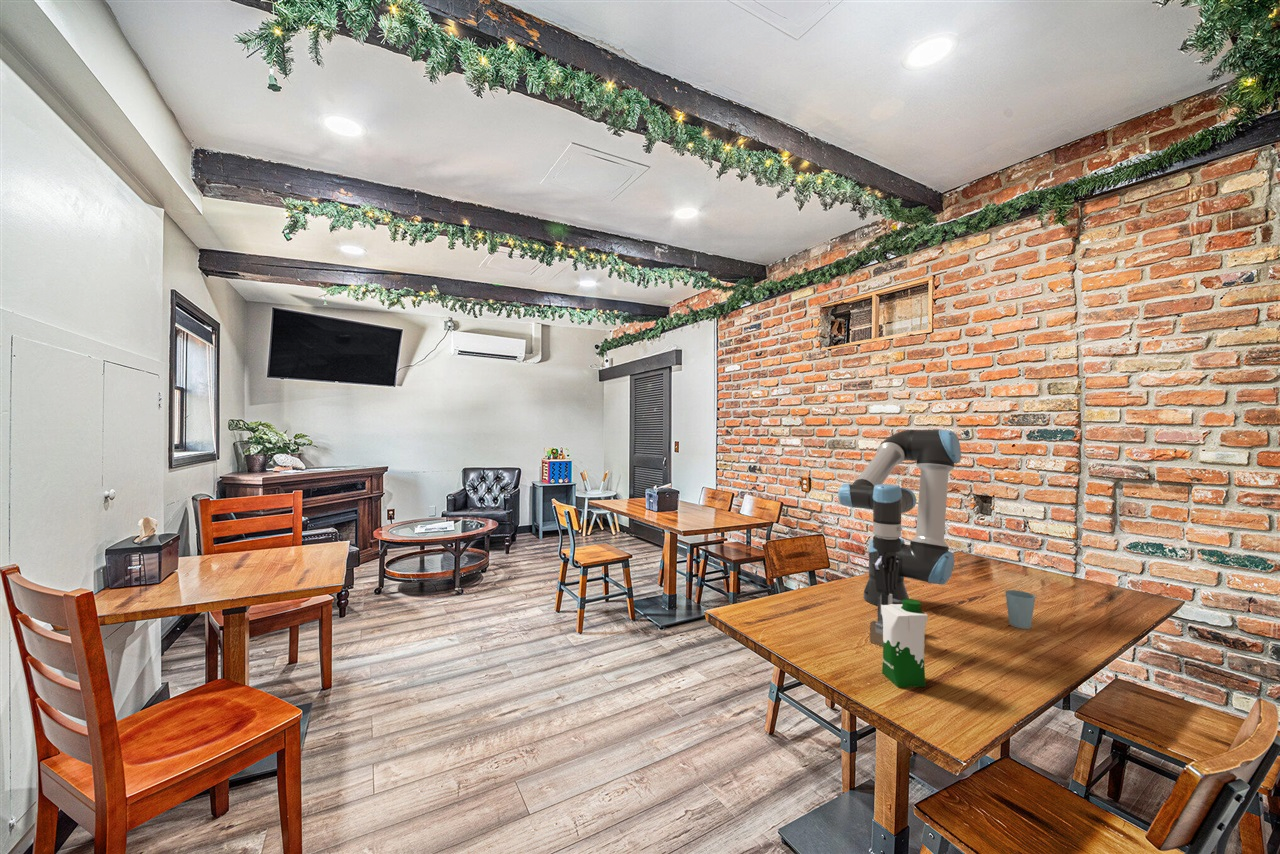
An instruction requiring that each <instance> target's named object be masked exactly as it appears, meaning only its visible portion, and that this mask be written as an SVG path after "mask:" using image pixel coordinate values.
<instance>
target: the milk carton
mask: <svg viewBox="0 0 1280 854" xmlns="http://www.w3.org/2000/svg"><path fill="white" fill-rule="evenodd" d="M881 610H882V618H883V647H882V667H881V668H882V670H881V671H882V672H881V674H882V675H883V674H884V675H885V676H884V675H883V676H884V677H886V678H887V679H888V680H889V681H890V682H891V681H892V682H891V683H893V684H894V685H895V686H896V687H897V688H899V689H900V688H902V689H903V688H904V689H905V688H924V687H926V675H925V674H926V673H925V670H926V669H925V631H926V627H927V622H928V617H929V615H928V614H927V613H925V612H923V611H922V610H921V602H920V601H918V600H917V599H913V598H909V599H903V603H902V604H890V605H881Z"/></svg>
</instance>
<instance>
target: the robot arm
mask: <svg viewBox="0 0 1280 854" xmlns="http://www.w3.org/2000/svg"><path fill="white" fill-rule="evenodd" d="M961 458H962V450H961V443H960V440H959V437H958V435H957V433H955V432H954V431H952V430H949V429H948V430H947V429H906V430H901V431H899V432H896V433H894V434H891V435H890V436H888V437H887V438H886V439H884V440H883V441H882V442H881V443H880V444H879V446H878V447H877V450H876V454H875V455H874V457H872V459H871V460H870V461H869V463H868V464H867V465H866V467H865V468H864V469H863V470H862V471H861V473H860V474H859V475H858V477H857V478H856V479H855V480H854V481H853V483H852V484H850V483H843V484H841V485H840V487H839V489H838V492H837V493H838V494H837V495H838V502H839V504H841V505H842V506H844V507H850V508H853V509H854V508H857V509H867V510H872V511H873V512H872V514H873V517H872V519H873V520H872V534H873V536H872V540H870V541H869V545H868V546H869V547H868V578H867V582H866V584H865V588H864V590H863V599H864V601H866V602H867V603H869V604H871V605H874V606H878V598H879V597H881V605H890V604H892V598H894V599H897V600H901V601H903V599H910V597H909V594H908V591H907V588H906V585H905V578H906V579H911V580H915V581H920V582H924V583H928V584H935V585H945V584H946V583H948V581H949V580H950V578H951V576H952V573H953V571H954V567H955V566H954V565H955V554H954V553H953V552H952V551H949V549H950V547H949V544H948V543H947V542H946V541H945V531H946V517H947V515H946V514H947V513H946V512H947V500H948V486H949V474H950V472H951V471H953V470H954V469H955V464H960V462H961ZM905 461H911V462H912V461H913V462H914V461H915V462H916V463H915V464H916V466H917V468H918V469H919V470H920V476H919V487H918V488H919V489H918V501H917V497H916V494H915V493H914V492H913V491H912V490H911V489H910V488H906V487H901V486H899V485H895V484H888V483H886V484H885V483H884V482H885V481H886V480H887V478H888V477H889V475H890V474H891V473H892V471H893V470H894V469H895V468H896V466H897V465H898V466H899V465H900V464H902V463H903V462H905ZM917 502H918V503H917ZM916 504H917V514H916V530H915V531H916V532H915V536H914V537H913V538H911V539H910V544H905V543H906V542H905V540H904V539H903V538H901V536H902V531H903V528H902V514H904V513H908V512H909V511H911V510H913V509H914V508H915V506H916ZM881 615H882V610H881Z"/></svg>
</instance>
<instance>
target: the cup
mask: <svg viewBox="0 0 1280 854" xmlns="http://www.w3.org/2000/svg"><path fill="white" fill-rule="evenodd" d="M1005 598H1006V607H1007V615H1008V622H1009V625H1010V626H1011V627H1015V628H1017V629H1022V630H1029V629H1031V628H1032V623H1033V622H1032V621H1033V615H1034V608H1035V607H1034V606H1035V603H1036V596H1035V595H1034V594H1032V593H1030V592H1026V591H1022V590H1016V589H1007V590H1005Z"/></svg>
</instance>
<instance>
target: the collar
mask: <svg viewBox="0 0 1280 854" xmlns="http://www.w3.org/2000/svg"><path fill="white" fill-rule="evenodd" d="M902 603H903V601H901V600H897V599H894V598H892V604H902ZM880 620H883V618H882V615H881V597H879V598H878V605H877V622H878V621H880Z"/></svg>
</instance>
